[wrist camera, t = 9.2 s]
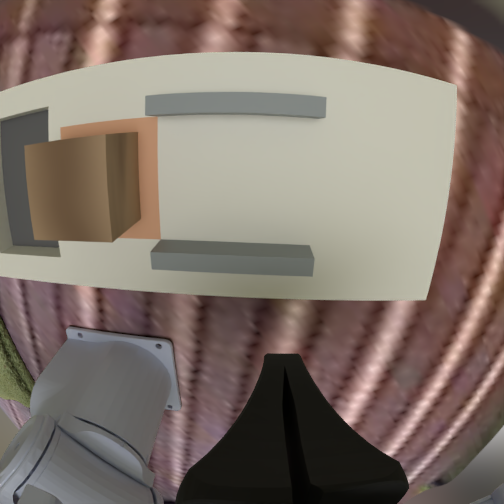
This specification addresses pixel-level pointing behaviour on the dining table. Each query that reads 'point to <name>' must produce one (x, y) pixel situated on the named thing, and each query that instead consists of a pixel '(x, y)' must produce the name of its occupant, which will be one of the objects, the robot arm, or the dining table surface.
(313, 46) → the dining table surface
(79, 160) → the walnut block
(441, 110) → the board
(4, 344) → the washcloth
